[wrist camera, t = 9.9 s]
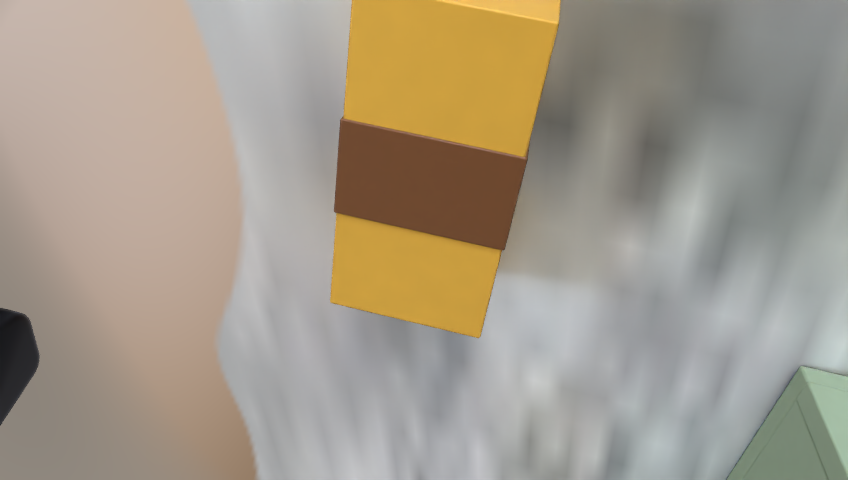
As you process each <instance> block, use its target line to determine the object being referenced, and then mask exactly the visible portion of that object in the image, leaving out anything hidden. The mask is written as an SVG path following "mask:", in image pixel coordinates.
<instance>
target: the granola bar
mask: <svg viewBox="0 0 848 480" xmlns="http://www.w3.org/2000/svg"><path fill="white" fill-rule="evenodd" d="M560 3H561V0H352V7H351V21H350V35H349V48H348V62H347V76H346V90H345V104H344V116H343V117H342V118H341V120H340V133H339V147H338V162H337V176H336V190H335V205H334V212H335V213H337V214H336V228H335V242H334V256H333V269H332V283H331V297H330V302H331V303H334V304H338V305H342V306H346V307H351V308H355V309H359V310H363V311H367V312H371V313H376V314H380V315H384V316H388V317H392V318H397V319H401V320H405V321H409V322H413V323H417V324H422V325H426V326H430V327H434V328H438V329H442V330H447V331H451V332H455V333H459V334H463V335H468V336H472V337H476V338H479V337H480V336H481V332H482V328H483V324H484V320H485V316H486V312H487V308H488V304H489V300H490V296H491V292H492V288H493V284H494V280H495V276H496V272H497V268H498V264H499V260H500V256H501V252H502V250H504V249H505V246H506V242H507V238H508V234H509V230H510V226H511V222H512V218H513V214H514V211H515V207H516V203H517V199H518V195H519V191H520V187H521V183H522V179H523V175H524V171H525V167H526V163H527V159H528V152H529V145H530V138H531V133H532V129H533V125H534V121H535V118H536V114H537V110H538V106H539V102H540V98H541V94H542V90H543V86H544V82H545V78H546V74H547V70H548V66H549V62H550V58H551V54H552V50H553V46H554V42H555V38H556V34H557V30H558V26H559V16H560Z"/></svg>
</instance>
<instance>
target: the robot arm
mask: <svg viewBox="0 0 848 480" xmlns="http://www.w3.org/2000/svg"><path fill="white" fill-rule="evenodd" d="M38 363H39V351H38V348H37V344H36V340H35V336H34V333H33V329H32V325H31V322H30V320H29V318H28V317H27V316H26V315H25V314H22V313H19V312H15V311H11V310H8V309H3V308H0V425H1V424H2V422H3V421H4V419H5V418H6V416H7V415H8V413H9V412H10V410H11V409H12V407H13V406H14V404H15V403H16V401H17V400H18V398H19V397H20V395H21V393H22V392H23V390H24V389H25V387H26V386H27V384H28V383H29V381H30V380H31V378H32V377H33V375H34V373H35V372H36V370H37V367H38Z"/></svg>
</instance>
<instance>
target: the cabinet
mask: <svg viewBox="0 0 848 480" xmlns="http://www.w3.org/2000/svg"><path fill="white" fill-rule="evenodd" d="M727 480H848V377H847V376H843V375H838V374H834V373H830V372H825V371H821V370H817V369H813V368H808V367H804V366H801V367H799V369H798V371H797V372H796V374H795V375H794V377H793V378H792V380H791V381H790V383H789V384H788V386H787V387H786V389H785V390H784V392H783V394H782V395H781V397H780V398H779V400H778V401H777V403H776V404H775V406H774V407H773V409H772V410H771V412H770V414H769V415H768V417H767V418H766V420H765V421H764V423H763V424H762V426H761V427H760V429H759V430H758V432H757V433H756V435H755V437H754V438H753V440H752V441H751V443H750V444H749V446H748V447H747V449H746V450H745V452H744V453H743V455H742V457H741V458H740V460H739V461H738V463H737V464H736V466H735V467H734V469H733V470H732V472H731V473H730V475H729V476H728V478H727Z"/></svg>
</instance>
